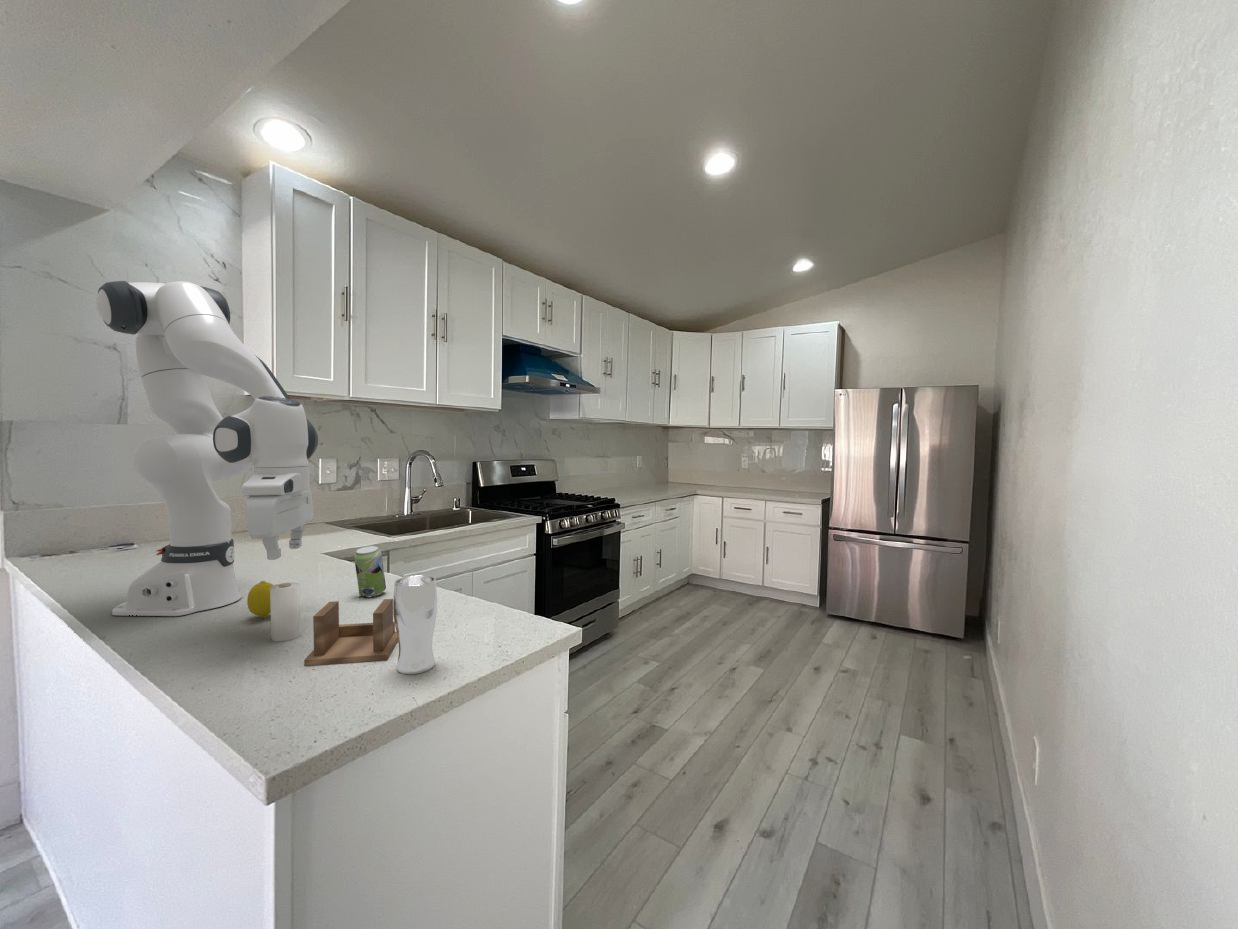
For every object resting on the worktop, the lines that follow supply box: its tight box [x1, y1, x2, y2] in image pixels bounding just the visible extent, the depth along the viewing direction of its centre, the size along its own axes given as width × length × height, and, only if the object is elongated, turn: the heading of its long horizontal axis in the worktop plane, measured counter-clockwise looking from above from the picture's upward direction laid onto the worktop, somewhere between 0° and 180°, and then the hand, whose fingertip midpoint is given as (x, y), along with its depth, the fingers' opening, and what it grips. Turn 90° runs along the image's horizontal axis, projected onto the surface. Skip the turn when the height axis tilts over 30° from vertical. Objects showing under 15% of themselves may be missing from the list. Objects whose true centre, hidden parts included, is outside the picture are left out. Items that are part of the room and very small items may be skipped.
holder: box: [303, 598, 399, 666], centre depth 94 cm, size 13×11×8 cm
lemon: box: [246, 580, 275, 619], centre depth 110 cm, size 6×6×8 cm
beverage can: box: [353, 545, 387, 597], centre depth 126 cm, size 6×7×12 cm
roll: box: [270, 582, 302, 642], centre depth 100 cm, size 5×5×10 cm
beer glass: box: [392, 574, 438, 675], centre depth 88 cm, size 7×7×15 cm
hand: (285, 553), depth 99 cm, fingers open, 8 cm apart
